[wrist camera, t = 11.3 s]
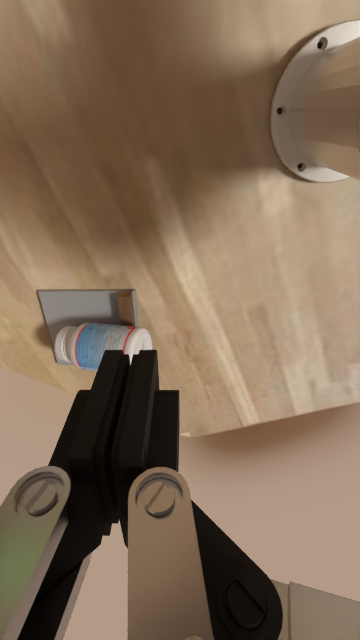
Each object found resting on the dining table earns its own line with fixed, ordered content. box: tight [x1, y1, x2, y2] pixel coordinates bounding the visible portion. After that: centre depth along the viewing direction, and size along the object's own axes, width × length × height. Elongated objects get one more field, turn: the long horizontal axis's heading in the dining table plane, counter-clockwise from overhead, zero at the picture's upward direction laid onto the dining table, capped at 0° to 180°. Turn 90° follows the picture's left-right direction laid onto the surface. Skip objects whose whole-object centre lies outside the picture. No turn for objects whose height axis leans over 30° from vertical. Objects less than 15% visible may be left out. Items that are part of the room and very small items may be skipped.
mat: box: [38, 290, 139, 365], centre depth 45 cm, size 12×12×1 cm
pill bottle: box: [55, 323, 152, 372], centre depth 41 cm, size 6×6×11 cm
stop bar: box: [117, 290, 135, 327], centre depth 44 cm, size 2×12×2 cm, turn 1°
